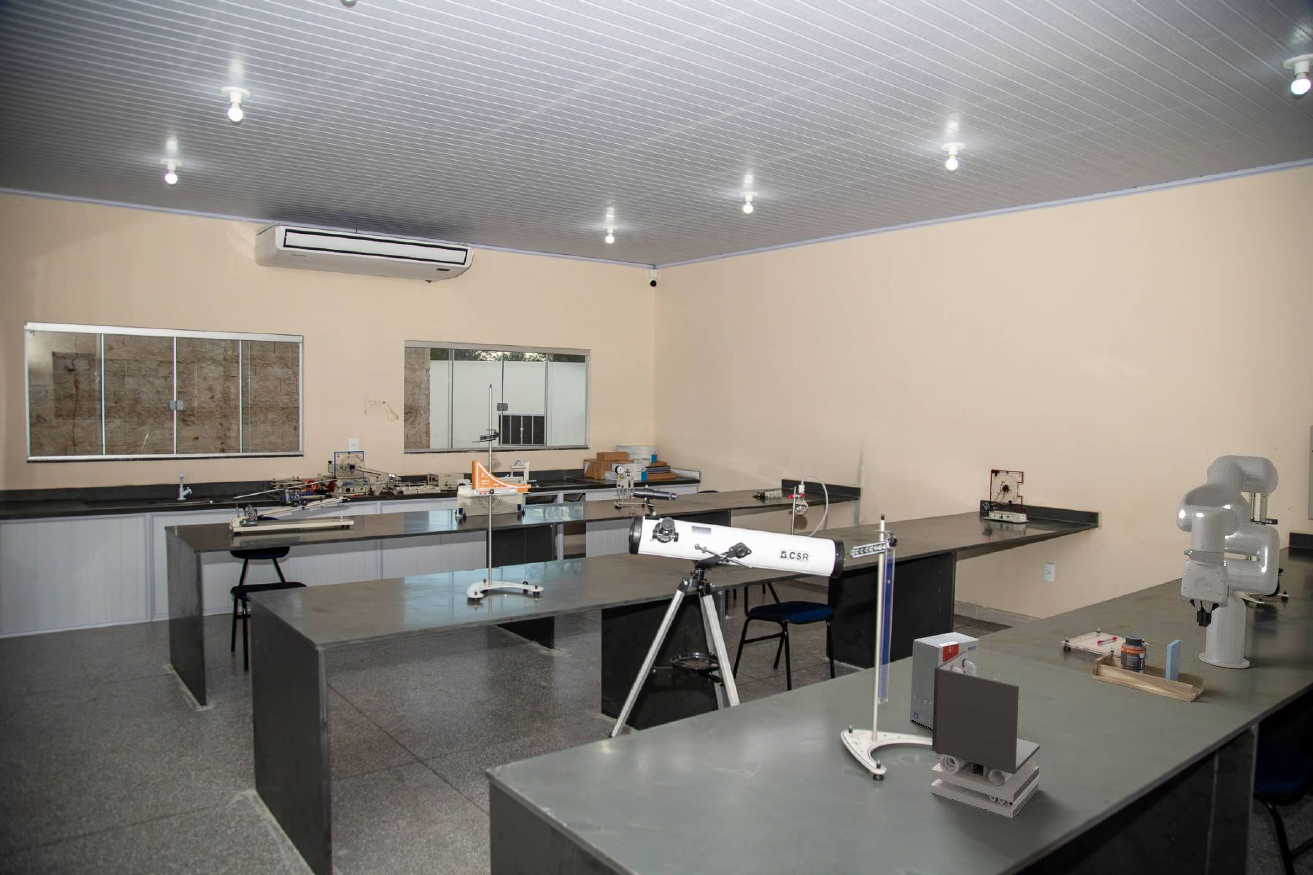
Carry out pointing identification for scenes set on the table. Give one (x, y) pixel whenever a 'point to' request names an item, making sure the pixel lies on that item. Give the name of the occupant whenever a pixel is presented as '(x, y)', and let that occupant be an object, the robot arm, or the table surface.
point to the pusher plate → (1173, 661)
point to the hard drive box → (923, 667)
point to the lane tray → (1147, 679)
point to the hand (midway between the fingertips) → (1203, 625)
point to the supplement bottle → (1133, 654)
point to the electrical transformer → (979, 740)
